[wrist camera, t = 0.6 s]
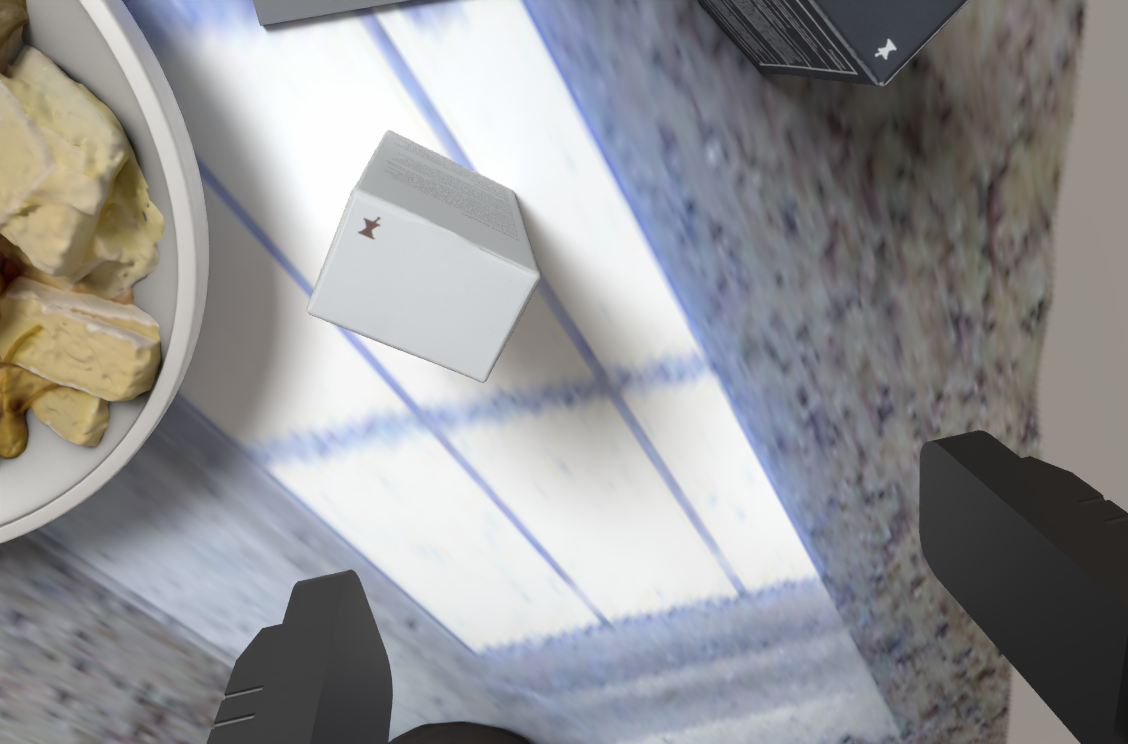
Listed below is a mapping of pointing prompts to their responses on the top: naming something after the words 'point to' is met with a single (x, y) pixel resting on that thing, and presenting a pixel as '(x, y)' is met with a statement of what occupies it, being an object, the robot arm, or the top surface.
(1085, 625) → the robot arm
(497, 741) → the pitcher
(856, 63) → the small box
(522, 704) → the top surface
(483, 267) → the skincare box
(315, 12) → the card
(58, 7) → the bowl
